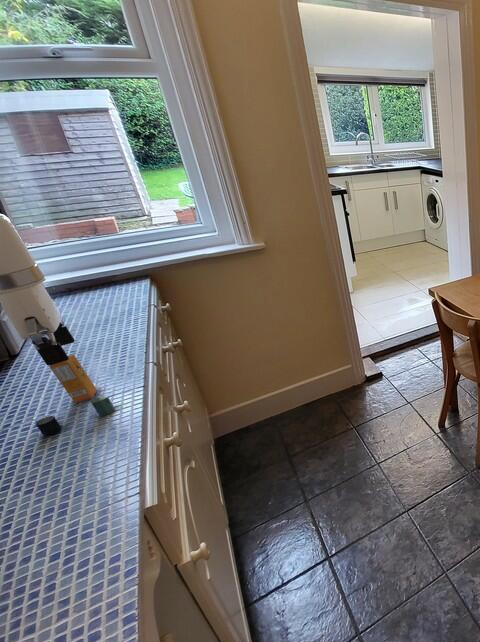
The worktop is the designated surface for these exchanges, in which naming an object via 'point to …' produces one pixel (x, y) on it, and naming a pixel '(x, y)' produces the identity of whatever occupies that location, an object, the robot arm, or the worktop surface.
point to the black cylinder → (48, 426)
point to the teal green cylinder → (102, 405)
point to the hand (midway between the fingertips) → (62, 353)
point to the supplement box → (74, 379)
